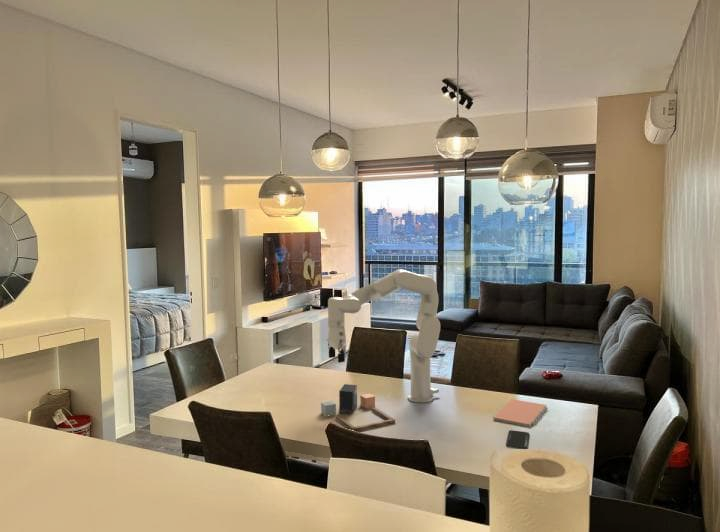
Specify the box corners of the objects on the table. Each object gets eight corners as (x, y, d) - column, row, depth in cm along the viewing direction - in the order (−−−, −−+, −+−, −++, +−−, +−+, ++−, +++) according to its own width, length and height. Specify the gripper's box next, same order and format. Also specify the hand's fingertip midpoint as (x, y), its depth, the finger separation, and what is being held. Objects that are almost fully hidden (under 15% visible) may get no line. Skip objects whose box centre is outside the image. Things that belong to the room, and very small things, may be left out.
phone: (529, 432, 207) (527, 447, 193) (529, 435, 207) (527, 450, 193) (508, 429, 210) (505, 444, 196) (508, 432, 210) (505, 447, 196)
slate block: (331, 411, 236) (331, 400, 236) (336, 414, 232) (335, 403, 232) (321, 413, 234) (321, 402, 234) (325, 416, 230) (325, 405, 229)
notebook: (532, 429, 213) (532, 424, 213) (492, 421, 223) (492, 416, 222) (548, 409, 236) (548, 404, 236) (512, 402, 245) (512, 398, 245)
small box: (353, 414, 232) (352, 391, 231) (338, 413, 233) (338, 390, 232) (357, 406, 242) (357, 384, 241) (344, 405, 243) (343, 383, 243)
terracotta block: (369, 403, 246) (369, 393, 245) (375, 406, 241) (374, 396, 241) (360, 405, 243) (360, 395, 243) (365, 408, 239) (365, 398, 239)
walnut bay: (375, 410, 236) (375, 407, 236) (395, 423, 221) (395, 419, 220) (335, 418, 227) (335, 415, 227) (353, 432, 211) (353, 428, 211)
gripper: (352, 325, 237) (352, 362, 238) (335, 320, 252) (335, 354, 253) (337, 327, 233) (337, 365, 234) (321, 321, 248) (321, 356, 249)
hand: (336, 359), depth 244 cm, fingers open, 9 cm apart
